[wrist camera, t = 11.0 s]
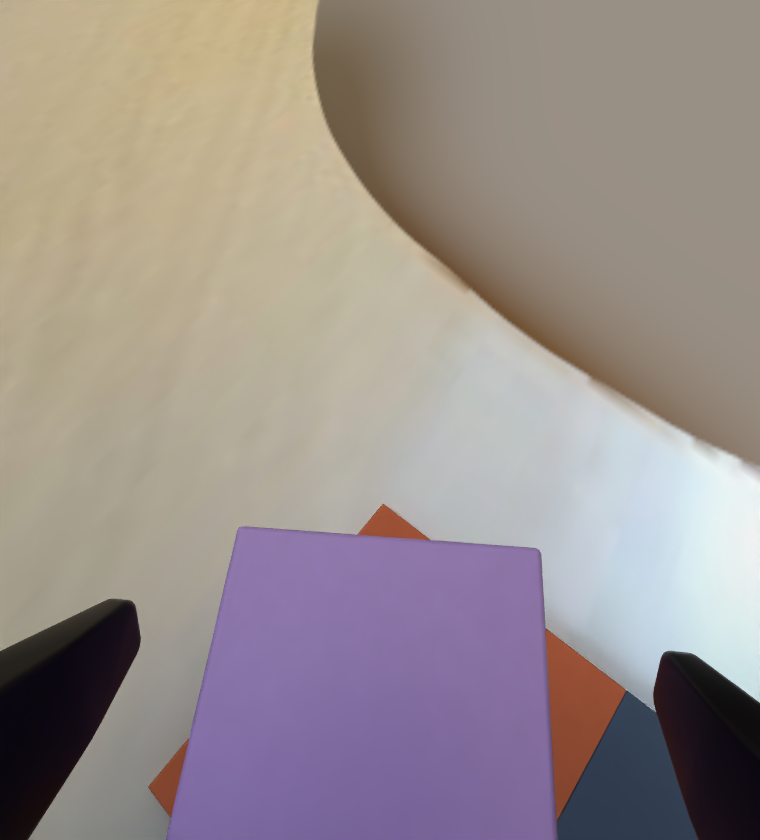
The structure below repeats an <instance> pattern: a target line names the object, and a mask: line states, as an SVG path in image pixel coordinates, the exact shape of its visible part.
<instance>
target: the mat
mask: <svg viewBox="0 0 760 840" xmlns="http://www.w3.org/2000/svg"><path fill="white" fill-rule="evenodd" d="M358 535H367V536H380V537H393V538H407V539H420V540H430V539H428V538H427V537H426V536H425V535H423V534H422V533H421V532H419V531H418V530H417V529H415V528H414V527H413V526H412V525H410V524H409V523H408V522H406V521H405V520H404V519H402V518H401V517H400V516H398V515H397V514H396V513H395V512H393V511H392V510H391V509H389V508H388V507H387V506H385V505H384V504H383V505H382V506H381V507H380V508H379V509H378V511H377V512H376V513H375V514H374V515H373V517H372V518H371V519H370V520H369V521H368V523H367V524H366V525H365V526H364V527H363V529H362V530H361V531H360V532H359V533H358ZM545 629H546V628H545ZM546 646H547V664H548V681H549V698H550V715H551V732H552V749H553V767H554V784H555V801H556V818H557V835H558V840H698V838H697V835H696V833H695V830H694V827H693V825H692V822H691V820H690V817H689V814H688V811H687V808H686V805H685V803H684V800H683V797H682V793H681V790H680V787H679V784H678V780H677V777H676V774H675V771H674V767H673V764H672V761H671V758H670V755H669V751H668V748H667V745H666V742H665V738H664V735H663V732H662V729H661V725H660V722H659V719H658V716H657V713H655V712H654V711H653V710H651V709H650V708H649V707H647V706H646V705H645V704H644V703H642V702H641V701H640V700H638V699H637V698H636V697H634V696H633V695H632V694H631V693H629V692H628V691H626V690H625V689H624V688H623V687H621V686H620V685H619V684H618V683H616V682H615V681H614V680H612V679H611V678H610V677H608V676H607V675H606V674H604V673H603V672H602V671H601V670H599V669H598V668H597V667H595V666H594V665H593V664H591V663H590V662H589V661H588V660H586V659H585V658H584V657H582V656H581V655H580V654H578V653H577V652H576V651H574V650H573V649H572V648H571V647H569V646H568V645H567V644H565V643H564V642H563V641H561V640H560V639H559V638H558V637H556V636H555V635H554V634H552V633H551V632H550V631H548V630H547V629H546ZM189 738H190V737H189ZM188 742H189V739H188V740H187V741H186V742H185V743H184V745H183V746H182V747H181V748H180V749H179V751H178V752H177V753H176V754H175V755H174V757H173V758H172V759H171V760H170V761H169V763H168V764H167V765H166V766H165V768H164V769H163V770H162V771H161V772H160V774H159V775H158V776H157V777H156V778H155V780H154V781H153V782H152V783H151V784H150V786H149V787H148V788H149V789H150V791H151V792H152V793H153V795H154V796H155V797H156V799H157V800H158V801H159V802H160V804H161V805H162V806H163V808H164V809H165V810H166V812H167V813H168V814H169V816H170V817H171V815H172V811H173V807H174V802H175V798H176V794H177V789H178V785H179V781H180V776H181V772H182V768H183V763H184V759H185V755H186V751H187V746H188Z"/></svg>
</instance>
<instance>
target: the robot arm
mask: <svg viewBox="0 0 760 840" xmlns="http://www.w3.org/2000/svg"><path fill="white" fill-rule="evenodd" d="M140 641H141V636H140V630H139V624H138V618H137V611H136V606H135V604H134V603H133V602H132V601H130V600H122V599H108V600H106V601H104V602H102V603H99V604H97V605H95V606H93V607H91V608H89V609H87V610H85V611H83V612H81V613H79V614H77V615H74V616H72V617H70V618H68V619H66V620H64V621H62V622H60V623H58V624H56V625H54V626H52V627H49V628H47V629H45V630H43V631H41V632H39V633H37V634H35V635H33V636H31V637H29V638H27V639H24V640H22V641H20V642H18V643H16V644H14V645H12V646H10V647H8V648H6V649H4V650H2V651H0V840H28V839H29V837H30V836H31V834H32V833H33V831H34V830H35V828H36V826H37V825H38V823H39V822H40V820H41V819H42V817H43V815H44V814H45V812H46V811H47V809H48V808H49V806H50V805H51V803H52V801H53V800H54V798H55V797H56V795H57V794H58V792H59V790H60V789H61V787H62V786H63V784H64V783H65V781H66V779H67V778H68V776H69V775H70V773H71V772H72V770H73V768H74V767H75V765H76V764H77V762H78V761H79V759H80V758H81V756H82V754H83V753H84V751H85V749H86V748H87V746H88V745H89V743H90V741H91V740H92V738H93V736H94V734H95V733H96V731H97V729H98V727H99V725H100V724H101V722H102V720H103V718H104V716H105V714H106V712H107V710H108V708H109V706H110V704H111V703H112V701H113V699H114V697H115V695H116V693H117V691H118V689H119V687H120V685H121V683H122V681H123V680H124V678H125V676H126V674H127V672H128V670H129V668H130V666H131V664H132V662H133V660H134V659H135V657H136V655H137V653H138V650H139V647H140ZM653 698H654V705H655V709H656V713H657V716H658V719H659V722H660V725H661V729H662V732H663V735H664V738H665V742H666V745H667V748H668V751H669V755H670V758H671V761H672V764H673V767H674V771H675V774H676V777H677V780H678V784H679V787H680V790H681V793H682V797H683V800H684V803H685V805H686V808H687V811H688V814H689V817H690V820H691V822H692V825H693V827H694V830H695V833H696V835H697V838H698V840H760V703H759V702H758V701H757V700H755V699H754V698H753V697H751V696H750V695H749V694H747V693H746V692H745V691H743V690H742V689H741V688H739V687H738V686H736V685H735V684H734V683H732V682H731V681H730V680H728V679H727V678H726V677H724V676H723V675H722V674H720V673H719V672H718V671H716V670H715V669H714V668H712V667H711V666H709V665H708V664H707V663H705V662H704V661H703V660H701V659H700V658H699V657H697V656H696V655H694V654H692V653H686V652H675V651H667V652H665V653H663V655H662V657H661V660H660V664H659V669H658V673H657V678H656V682H655V687H654V692H653Z"/></svg>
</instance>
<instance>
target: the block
mask: <svg viewBox="0 0 760 840" xmlns="http://www.w3.org/2000/svg"><path fill="white" fill-rule="evenodd" d="M166 840H558V835H557V818H556V801H555V784H554V767H553V749H552V732H551V715H550V698H549V681H548V664H547V646H546V629H545V612H544V595H543V578H542V560H541V553H540V551H539V550H538V549H536V548H528V547H514V546H501V545H487V544H474V543H461V542H447V541H434V540H420V539H407V538H393V537H380V536H367V535H353V534H340V533H326V532H313V531H299V530H286V529H273V528H259V527H246V526H243V527H239V529H238V530H237V534H236V539H235V543H234V547H233V552H232V556H231V560H230V565H229V569H228V573H227V578H226V582H225V586H224V591H223V595H222V599H221V604H220V608H219V612H218V617H217V621H216V625H215V630H214V634H213V638H212V642H211V647H210V651H209V655H208V660H207V664H206V668H205V673H204V677H203V681H202V686H201V690H200V694H199V699H198V703H197V707H196V712H195V716H194V720H193V725H192V729H191V733H190V738H189V742H188V746H187V751H186V755H185V759H184V763H183V768H182V772H181V776H180V781H179V785H178V789H177V794H176V798H175V802H174V807H173V811H172V815H171V820H170V824H169V828H168V833H167V837H166Z"/></svg>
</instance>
